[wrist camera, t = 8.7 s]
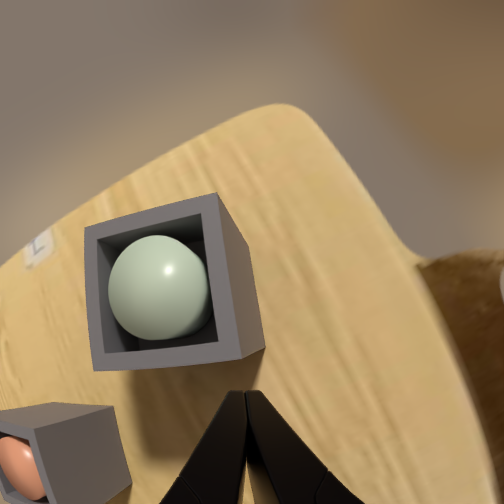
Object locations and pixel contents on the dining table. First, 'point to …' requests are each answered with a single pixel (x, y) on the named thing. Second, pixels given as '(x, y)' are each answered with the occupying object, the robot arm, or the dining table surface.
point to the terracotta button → (20, 467)
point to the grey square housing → (69, 452)
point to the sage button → (160, 289)
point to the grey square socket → (221, 282)
